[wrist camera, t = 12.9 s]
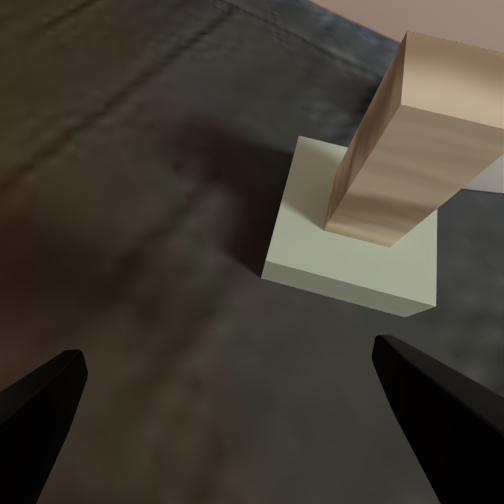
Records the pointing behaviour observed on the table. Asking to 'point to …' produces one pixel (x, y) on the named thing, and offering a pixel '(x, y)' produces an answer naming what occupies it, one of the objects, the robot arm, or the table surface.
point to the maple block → (419, 138)
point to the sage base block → (345, 245)
